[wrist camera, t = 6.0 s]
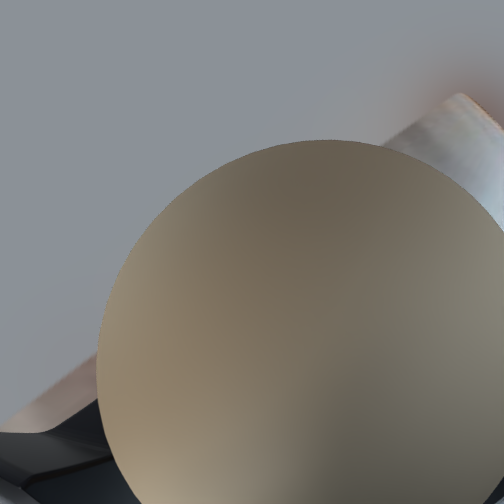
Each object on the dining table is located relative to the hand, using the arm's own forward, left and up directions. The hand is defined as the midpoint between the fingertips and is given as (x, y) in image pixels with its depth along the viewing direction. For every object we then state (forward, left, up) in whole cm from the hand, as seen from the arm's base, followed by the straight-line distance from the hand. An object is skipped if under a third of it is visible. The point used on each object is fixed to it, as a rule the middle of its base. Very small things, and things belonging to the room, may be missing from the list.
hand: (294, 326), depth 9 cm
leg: (-1, +1, -7) cm, 7 cm away
